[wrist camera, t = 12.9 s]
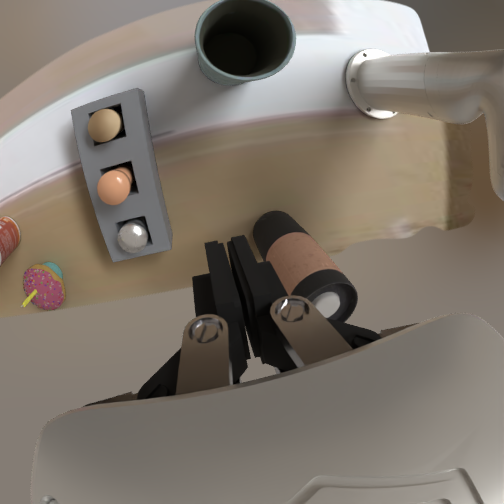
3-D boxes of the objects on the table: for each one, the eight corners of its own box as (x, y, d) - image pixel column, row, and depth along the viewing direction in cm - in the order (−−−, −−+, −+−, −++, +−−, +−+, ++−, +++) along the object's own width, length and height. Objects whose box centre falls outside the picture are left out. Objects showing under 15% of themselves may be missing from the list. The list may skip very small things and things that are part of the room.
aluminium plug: (147, 206, 37) (142, 222, 32) (154, 230, 39) (150, 249, 34) (122, 212, 37) (113, 229, 32) (130, 236, 39) (123, 255, 34)
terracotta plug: (134, 158, 32) (124, 167, 27) (140, 186, 34) (132, 200, 29) (106, 166, 31) (93, 177, 26) (113, 193, 34) (102, 208, 28)
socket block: (143, 90, 30) (137, 87, 25) (172, 234, 41) (171, 249, 37) (84, 109, 28) (70, 110, 24) (119, 245, 40) (112, 262, 36)
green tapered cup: (220, 103, 33) (235, 99, 23) (176, 51, 28) (172, 26, 18) (278, 65, 32) (315, 51, 22) (237, 14, 27) (259, -19, 16)
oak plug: (126, 105, 30) (116, 104, 25) (131, 132, 32) (121, 136, 27) (100, 113, 29) (85, 115, 24) (104, 140, 31) (91, 146, 26)
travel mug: (303, 234, 47) (365, 309, 30) (265, 259, 47) (310, 345, 30) (283, 199, 42) (348, 267, 26) (242, 226, 43) (282, 310, 26)
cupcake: (26, 259, 36) (-3, 300, 26) (59, 246, 37) (30, 289, 27) (47, 296, 40) (26, 341, 30) (80, 287, 41) (61, 335, 31)
